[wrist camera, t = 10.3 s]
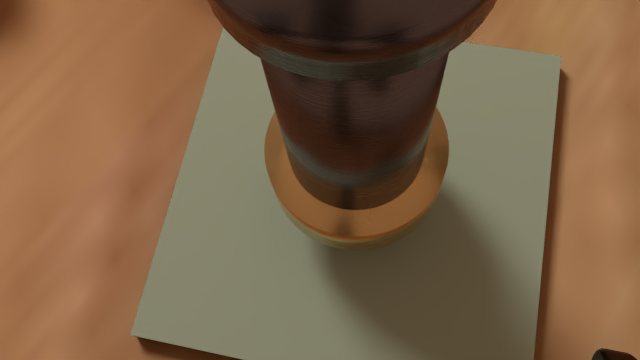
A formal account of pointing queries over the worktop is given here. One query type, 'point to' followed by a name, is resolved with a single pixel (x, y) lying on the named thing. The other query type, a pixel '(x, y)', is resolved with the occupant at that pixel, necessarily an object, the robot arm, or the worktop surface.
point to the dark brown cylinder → (354, 108)
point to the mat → (365, 265)
